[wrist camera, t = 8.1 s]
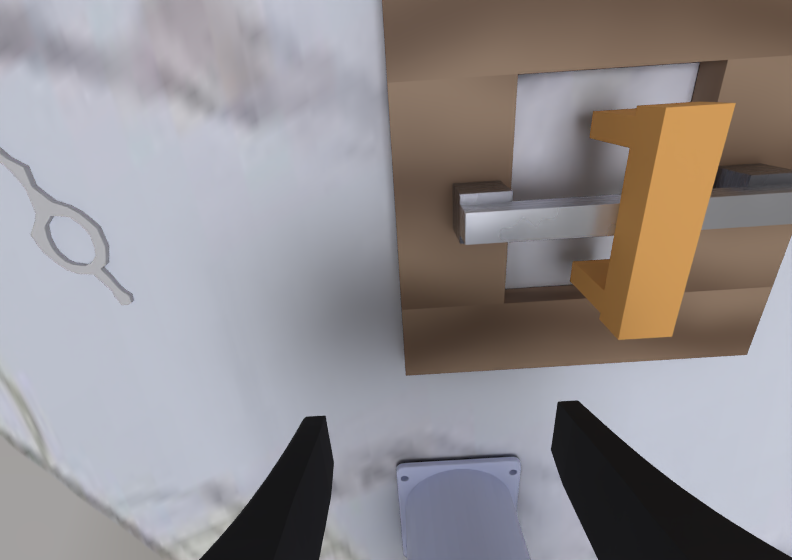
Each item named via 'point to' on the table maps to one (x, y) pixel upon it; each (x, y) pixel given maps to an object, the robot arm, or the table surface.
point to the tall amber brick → (654, 212)
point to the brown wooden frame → (493, 155)
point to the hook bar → (614, 208)
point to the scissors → (50, 207)
